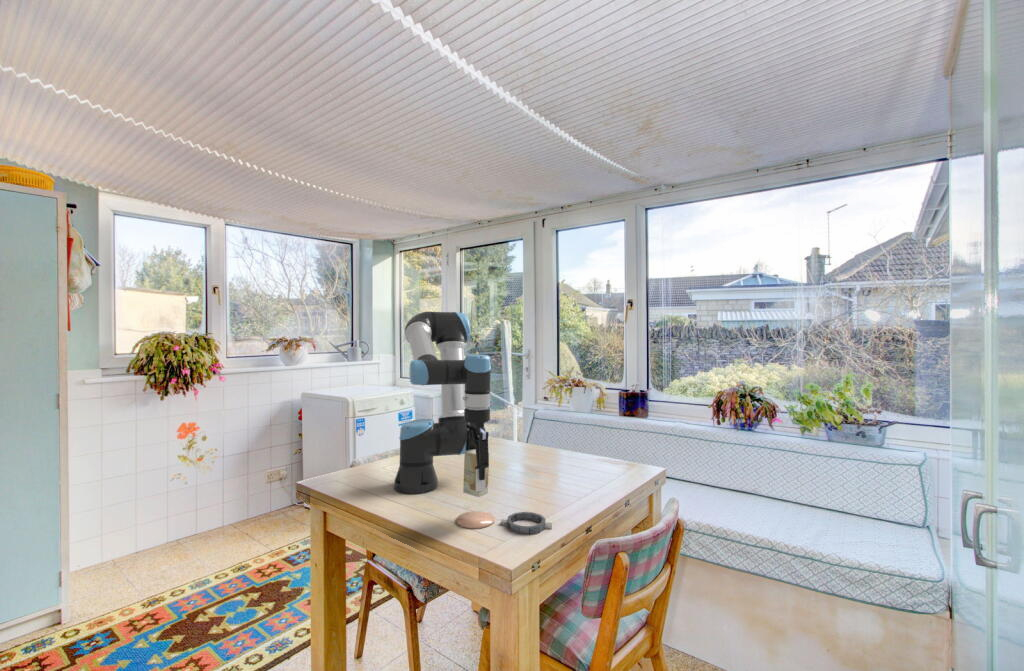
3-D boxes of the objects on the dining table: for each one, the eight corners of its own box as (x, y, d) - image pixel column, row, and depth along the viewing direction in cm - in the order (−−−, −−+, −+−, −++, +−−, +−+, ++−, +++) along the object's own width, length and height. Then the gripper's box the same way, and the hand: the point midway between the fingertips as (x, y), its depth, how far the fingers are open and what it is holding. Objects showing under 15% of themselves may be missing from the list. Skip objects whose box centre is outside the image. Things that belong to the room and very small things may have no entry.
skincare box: (462, 493, 132) (463, 451, 132) (472, 489, 135) (472, 448, 135) (479, 497, 128) (480, 454, 128) (489, 493, 132) (489, 451, 132)
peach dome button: (452, 527, 127) (452, 525, 127) (461, 512, 138) (461, 510, 138) (490, 530, 126) (490, 528, 126) (497, 514, 137) (497, 512, 137)
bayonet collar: (498, 532, 125) (498, 525, 125) (503, 516, 135) (503, 510, 135) (550, 535, 123) (551, 529, 123) (552, 519, 133) (552, 513, 133)
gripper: (455, 403, 140) (454, 477, 140) (475, 414, 121) (474, 499, 121) (478, 402, 143) (477, 474, 143) (501, 412, 124) (500, 496, 124)
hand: (476, 486), depth 132 cm, fingers closed on skincare box, 7 cm apart
